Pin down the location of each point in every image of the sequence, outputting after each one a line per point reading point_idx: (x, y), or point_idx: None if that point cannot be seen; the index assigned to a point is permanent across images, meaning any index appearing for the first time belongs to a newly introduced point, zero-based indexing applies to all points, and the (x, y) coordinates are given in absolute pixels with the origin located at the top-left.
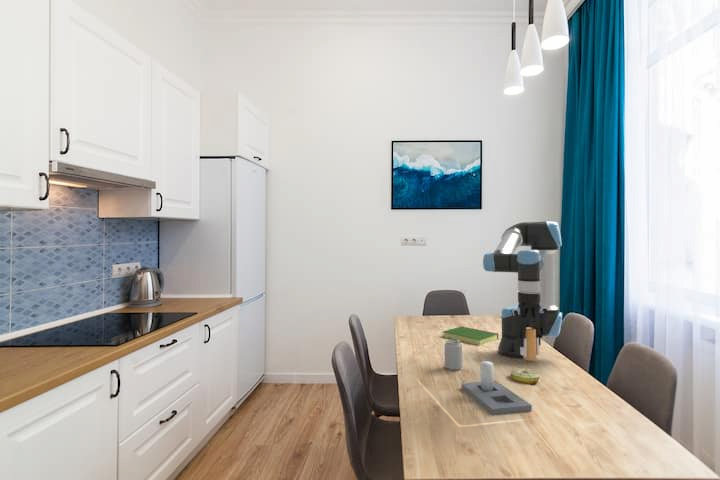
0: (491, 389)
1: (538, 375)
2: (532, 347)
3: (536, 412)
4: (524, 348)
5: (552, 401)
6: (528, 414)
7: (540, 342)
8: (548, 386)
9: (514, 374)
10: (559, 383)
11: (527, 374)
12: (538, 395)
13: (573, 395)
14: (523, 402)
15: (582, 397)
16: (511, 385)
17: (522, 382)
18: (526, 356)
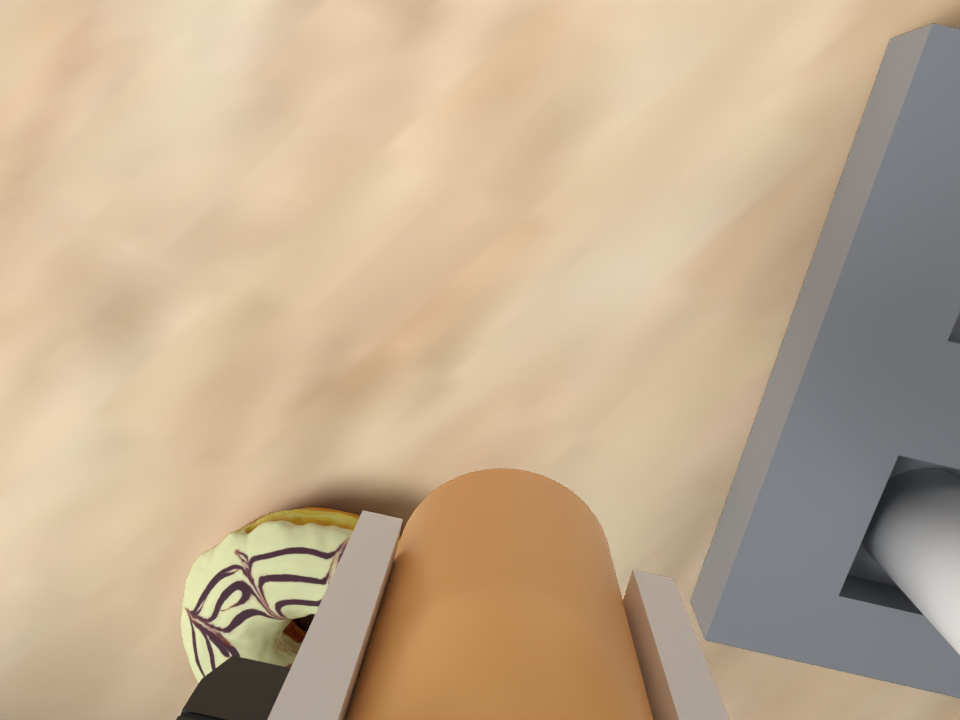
0: (957, 493)
1: (220, 551)
2: (562, 629)
3: (845, 20)
4: (721, 705)
5: (484, 146)
6: (956, 19)
7: (181, 717)
8: (238, 412)
9: None
10: (88, 418)
11: None
12: (492, 304)
13: (181, 162)
14: (947, 115)
15: (136, 90)
16: None
17: None
18: (637, 571)
